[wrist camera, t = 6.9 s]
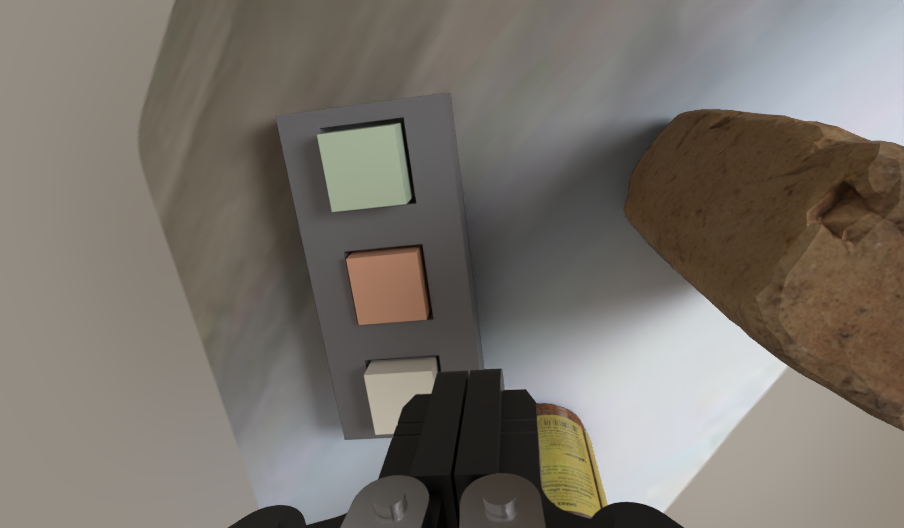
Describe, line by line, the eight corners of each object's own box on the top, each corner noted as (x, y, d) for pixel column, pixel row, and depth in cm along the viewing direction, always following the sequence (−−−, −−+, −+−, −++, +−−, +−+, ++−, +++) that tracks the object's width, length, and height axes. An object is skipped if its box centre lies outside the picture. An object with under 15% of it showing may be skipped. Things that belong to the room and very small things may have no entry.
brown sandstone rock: (598, 197, 34) (706, 331, 15) (677, 92, 32) (921, 93, 13) (736, 290, 35) (1001, 525, 16) (822, 193, 33) (1253, 335, 14)
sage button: (328, 132, 32) (316, 134, 30) (401, 122, 32) (393, 124, 30) (342, 205, 33) (332, 212, 31) (412, 197, 33) (406, 204, 31)
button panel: (294, 113, 34) (275, 116, 32) (450, 92, 33) (444, 92, 30) (356, 415, 41) (344, 439, 38) (489, 408, 39) (487, 432, 37)
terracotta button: (354, 249, 35) (345, 258, 33) (421, 243, 34) (416, 252, 33) (366, 312, 36) (358, 324, 34) (431, 307, 36) (426, 319, 34)
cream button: (371, 360, 36) (363, 375, 35) (436, 356, 36) (431, 370, 34) (382, 417, 38) (375, 434, 36) (444, 414, 37) (441, 431, 35)
